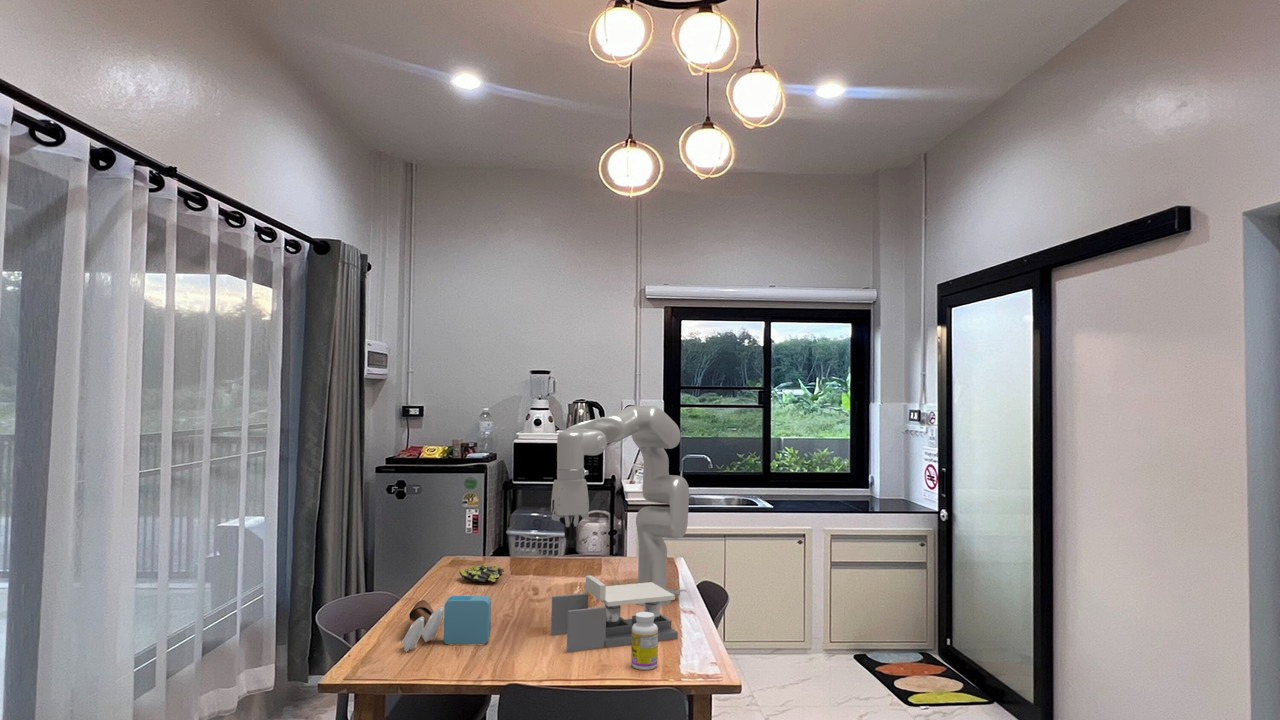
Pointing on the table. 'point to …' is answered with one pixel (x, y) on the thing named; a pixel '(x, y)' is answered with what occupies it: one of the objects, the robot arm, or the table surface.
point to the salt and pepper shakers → (423, 629)
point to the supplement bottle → (644, 642)
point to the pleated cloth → (482, 573)
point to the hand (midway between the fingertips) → (570, 540)
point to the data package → (467, 620)
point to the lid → (626, 592)
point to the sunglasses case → (421, 611)
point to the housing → (595, 625)
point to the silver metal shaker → (653, 609)
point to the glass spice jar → (613, 616)
